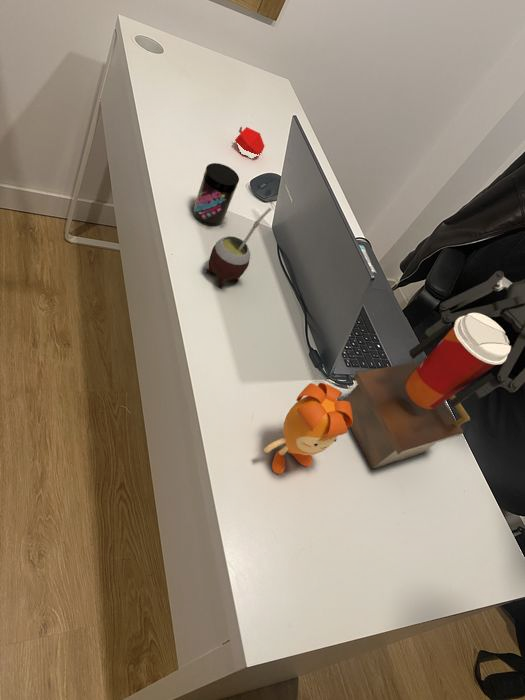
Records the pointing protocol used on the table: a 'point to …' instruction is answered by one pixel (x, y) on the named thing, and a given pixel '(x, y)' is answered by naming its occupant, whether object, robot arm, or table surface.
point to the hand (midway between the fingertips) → (431, 378)
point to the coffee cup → (458, 360)
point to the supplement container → (215, 193)
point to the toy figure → (312, 425)
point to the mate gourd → (231, 256)
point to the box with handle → (396, 416)
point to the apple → (250, 140)
